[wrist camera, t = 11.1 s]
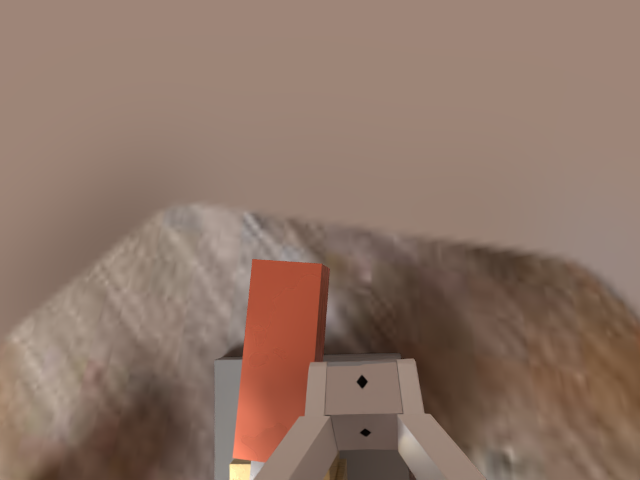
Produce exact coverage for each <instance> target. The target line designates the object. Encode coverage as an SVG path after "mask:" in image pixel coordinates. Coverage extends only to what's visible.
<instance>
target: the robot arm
mask: <svg viewBox="0 0 640 480" xmlns="http://www.w3.org/2000/svg"><path fill="white" fill-rule="evenodd" d="M367 448H368V449H379V450H398V452H399V453H400V455H401V456H402V458H403V460H404V461H405V463H406V464H407V466H408V467H409V469H410V470H411V472H412V473H413V475H414V476H415V478H416V480H486V478H485V477H484V476H483V475H482V474H481V473H480V471H479V470H478V469H477V468H476V467H475V466H474V464H473V463H472V462H471V461H470V460H469V459H468V457H467V456H466V455H465V454H464V453H463V452H462V450H461V449H460V448H459V447H458V446H457V445H456V443H455V442H454V441H453V440H452V439H451V438H450V436H449V435H448V434H447V433H446V432H445V430H444V429H443V428H442V427H441V426H440V425H439V423H438V422H437V421H436V420H435V419H434V418H433V416H432V415H431V414H425V413H424V407H423V401H422V395H421V390H420V384H419V378H418V372H417V367H416V362H415V360H414V358H412V359H382V360H363V361H344V362H310V365H309V370H308V382H307V393H306V405H305V416H299V418H298V419H297V420H296V422H295V423H294V425H293V426H292V427H291V429H290V430H289V431H288V433H287V434H286V436H285V437H284V438H283V440H282V441H281V442H280V444H279V445H278V446H277V448H276V449H275V451H274V452H273V453H272V455H271V456H270V457H269V459H268V460H267V462H266V463H265V464H264V466H263V467H262V468H261V470H260V471H259V472H258V474H257V475H256V477H255V478H254V479H253V480H323V479H324V477H325V475H326V473H327V472H328V470H329V468H330V466H331V464H332V462H333V460H334V459H335V457H336V455H337V453H338V451H337V450H362V449H367Z"/></svg>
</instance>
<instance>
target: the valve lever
mask: <svg viewBox="0 0 640 480" xmlns="http://www.w3.org/2000/svg"><path fill="white" fill-rule="evenodd" d="M329 273H330V269H329V268H328V267H326V266H324V265H323V264H317V263H302V262H287V261H272V260H257V259H252V269H251V279H250V289H249V299H248V309H247V319H246V329H245V339H244V349H243V359H242V369H241V379H240V389H239V399H238V409H237V419H236V429H235V439H234V449H233V458H237V459H244V460H251V468H250V479H249V480H253V479H254V478H255V477H256V475H257V474H258V472H259V471H260V470H261V468H262V467H263V466H264V464H265V463H266V462H267V460H268V459H269V457H270V456H271V455H272V453H273V452H274V451H275V449H276V448H277V446H278V445H279V444H280V442H281V441H282V440H283V438H284V437H285V436H286V434H287V433H288V431H289V430H290V429H291V427H292V426H293V425H294V423H295V422H296V420H297V419H298V418H299V416H305V405H306V393H307V382H308V370H309V365H310V362H323V354H324V341H325V327H326V314H327V300H328V286H329Z"/></svg>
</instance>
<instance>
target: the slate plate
mask: <svg viewBox="0 0 640 480" xmlns="http://www.w3.org/2000/svg"><path fill="white" fill-rule="evenodd" d="M242 359H243V357H221V358H219V359H216V360H215V480H230V463H231V462H232V461H233V460H234V459H235V458H233V449H234V439H235V429H236V419H237V409H238V399H239V389H240V379H241V369H242ZM382 359H401V355H400V353H377V354H335V355H323V362H344V361H363V360H382ZM339 456H340V458H339V459H347V479H348V480H410V479H409V467H408V466H407V464H406V463H405V461H404V460H403V458H402V456H401V455H400V453H399V452H398V450H379V449H368V448H367V449H362V450H339Z"/></svg>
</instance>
